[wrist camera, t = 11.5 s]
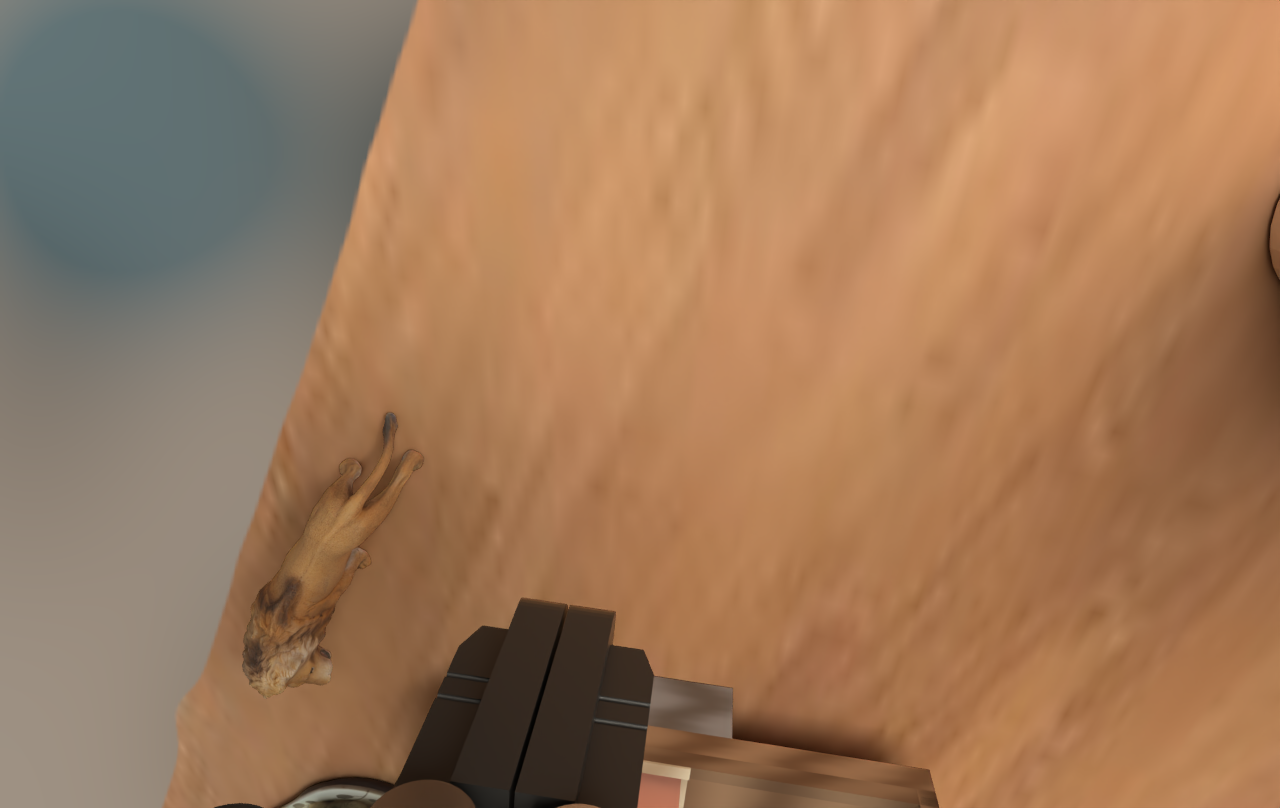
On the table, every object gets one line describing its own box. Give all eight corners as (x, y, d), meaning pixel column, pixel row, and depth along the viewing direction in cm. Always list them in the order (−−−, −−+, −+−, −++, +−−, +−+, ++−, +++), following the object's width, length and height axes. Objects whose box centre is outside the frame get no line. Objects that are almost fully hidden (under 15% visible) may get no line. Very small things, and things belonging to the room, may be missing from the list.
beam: (915, 716, 49) (943, 824, 43) (890, 799, 52) (912, 913, 45) (460, 646, 51) (417, 739, 44) (459, 730, 54) (419, 829, 47)
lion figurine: (373, 619, 51) (303, 729, 43) (292, 587, 51) (206, 691, 43) (438, 426, 45) (371, 509, 37) (347, 388, 45) (259, 464, 37)
